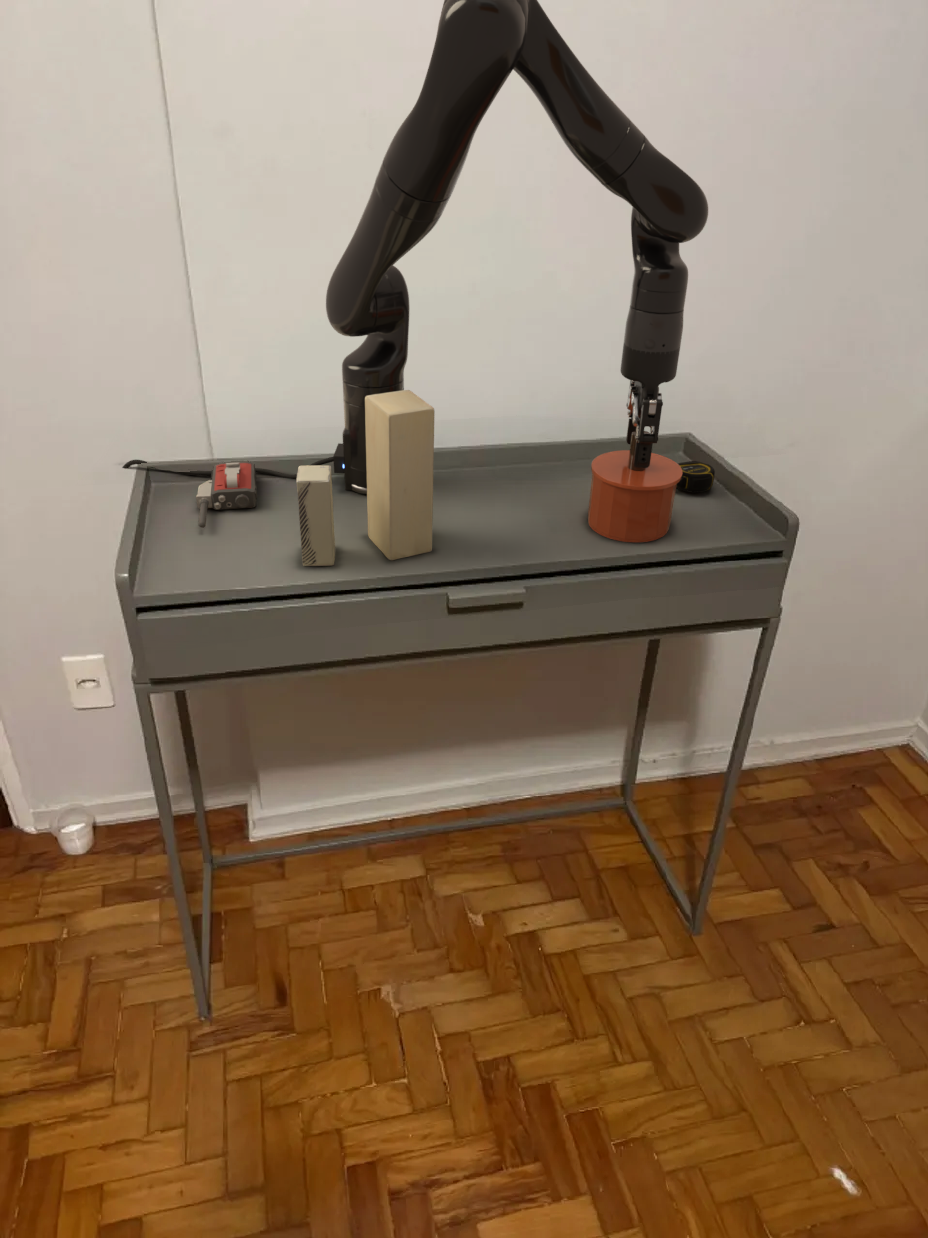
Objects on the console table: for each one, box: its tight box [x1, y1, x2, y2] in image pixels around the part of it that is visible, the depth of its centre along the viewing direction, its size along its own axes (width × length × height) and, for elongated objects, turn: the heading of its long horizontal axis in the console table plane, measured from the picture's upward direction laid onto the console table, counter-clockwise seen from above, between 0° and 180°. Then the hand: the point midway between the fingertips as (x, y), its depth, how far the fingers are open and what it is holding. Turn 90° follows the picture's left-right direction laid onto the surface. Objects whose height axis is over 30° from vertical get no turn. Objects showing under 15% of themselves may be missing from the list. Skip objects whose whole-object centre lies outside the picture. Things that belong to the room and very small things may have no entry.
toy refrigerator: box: [365, 389, 435, 561], centre depth 126 cm, size 8×7×21 cm
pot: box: [587, 472, 677, 543], centre depth 137 cm, size 12×12×8 cm
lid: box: [590, 430, 682, 490], centre depth 133 cm, size 13×13×6 cm
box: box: [296, 464, 336, 567], centre depth 125 cm, size 5×4×13 cm
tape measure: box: [676, 460, 716, 493], centre depth 149 cm, size 7×7×4 cm
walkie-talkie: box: [195, 460, 258, 529], centre depth 141 cm, size 9×4×20 cm
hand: (637, 454), depth 133 cm, fingers open, 8 cm apart
